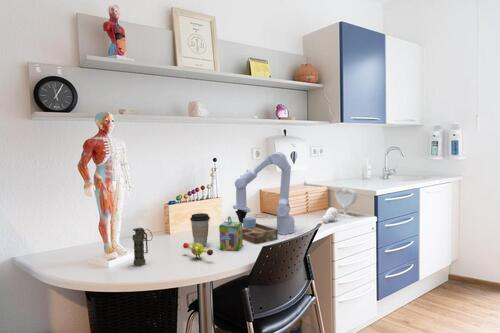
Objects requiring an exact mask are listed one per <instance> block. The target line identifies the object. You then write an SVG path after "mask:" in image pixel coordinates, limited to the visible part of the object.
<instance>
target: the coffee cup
mask: <svg viewBox="0 0 500 333" xmlns="http://www.w3.org/2000/svg"><path fill="white" fill-rule="evenodd" d="M189 220H190V222H191V225H190V226H191V232H192V238H193V244H195V243H200V244H202V245H203V248H204V247H206V246H208V236H209V226H210V225H209V222H210V221H209V220H211V217H210V216H209V214H208V213H203V212H200V213H199V212H198V213H194V214H191V217H190V218H189Z"/></svg>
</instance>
